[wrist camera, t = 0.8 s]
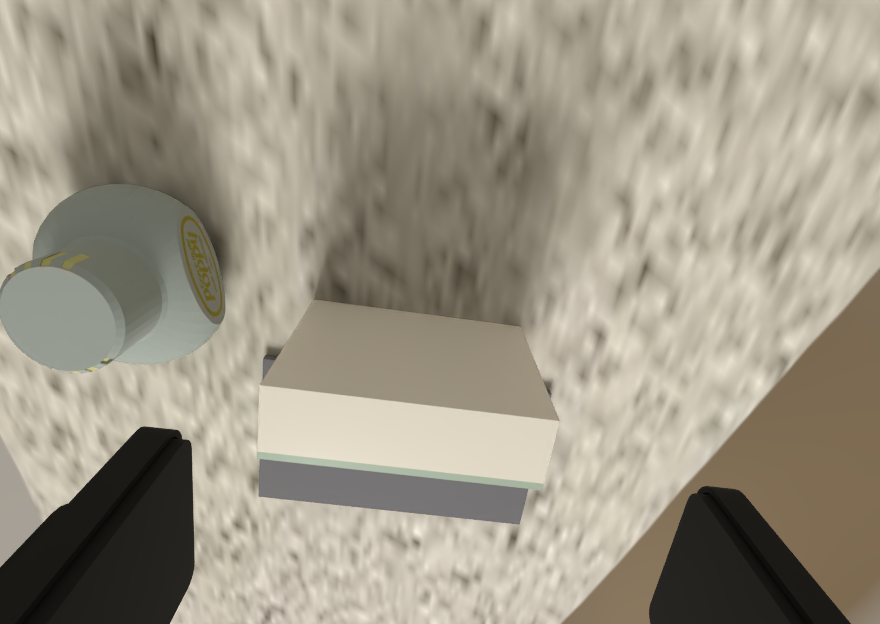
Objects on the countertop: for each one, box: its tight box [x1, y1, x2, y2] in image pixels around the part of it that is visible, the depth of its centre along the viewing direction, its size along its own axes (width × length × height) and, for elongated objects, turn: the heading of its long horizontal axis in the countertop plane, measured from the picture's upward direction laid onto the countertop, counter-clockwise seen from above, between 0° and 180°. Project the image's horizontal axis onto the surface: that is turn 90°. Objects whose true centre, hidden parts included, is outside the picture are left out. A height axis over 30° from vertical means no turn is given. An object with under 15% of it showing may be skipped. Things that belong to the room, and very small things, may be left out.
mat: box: [259, 355, 551, 524], centre depth 39 cm, size 12×20×1 cm, turn 82°
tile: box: [257, 300, 560, 490], centre depth 31 cm, size 4×14×12 cm, turn 82°
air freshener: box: [0, 184, 225, 373], centre depth 30 cm, size 11×8×10 cm
